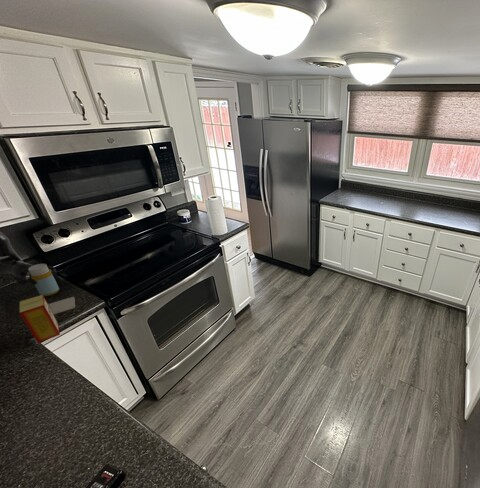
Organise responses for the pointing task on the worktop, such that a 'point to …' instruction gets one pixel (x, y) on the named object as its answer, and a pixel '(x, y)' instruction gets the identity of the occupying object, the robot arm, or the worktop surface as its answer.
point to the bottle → (43, 279)
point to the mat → (62, 305)
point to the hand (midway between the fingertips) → (45, 278)
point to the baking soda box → (39, 318)
